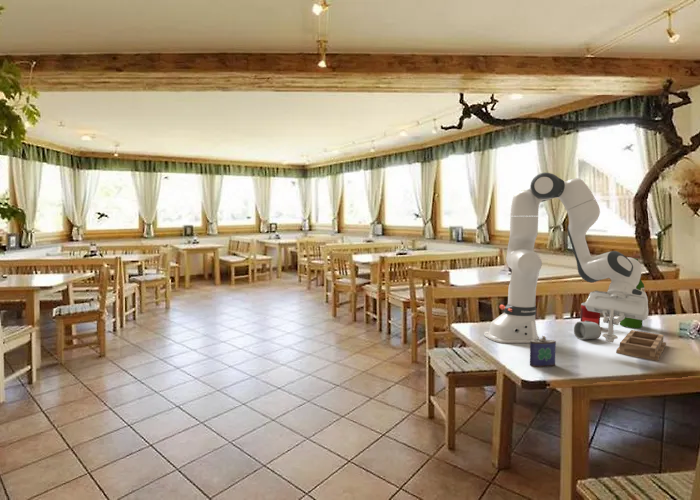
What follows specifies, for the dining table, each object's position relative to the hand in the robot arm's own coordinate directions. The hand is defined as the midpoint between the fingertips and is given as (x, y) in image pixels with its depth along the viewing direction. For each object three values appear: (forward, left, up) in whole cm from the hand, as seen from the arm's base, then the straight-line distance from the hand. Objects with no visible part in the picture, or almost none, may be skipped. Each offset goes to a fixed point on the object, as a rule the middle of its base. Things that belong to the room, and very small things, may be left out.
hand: (610, 323), depth 154 cm
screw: (0, 0, -7) cm, 7 cm away
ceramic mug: (+9, +23, -13) cm, 28 cm away
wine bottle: (+45, +35, -13) cm, 59 cm away
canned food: (+25, +38, -13) cm, 48 cm away
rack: (+20, +5, -13) cm, 24 cm away
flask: (-30, -3, -13) cm, 33 cm away
